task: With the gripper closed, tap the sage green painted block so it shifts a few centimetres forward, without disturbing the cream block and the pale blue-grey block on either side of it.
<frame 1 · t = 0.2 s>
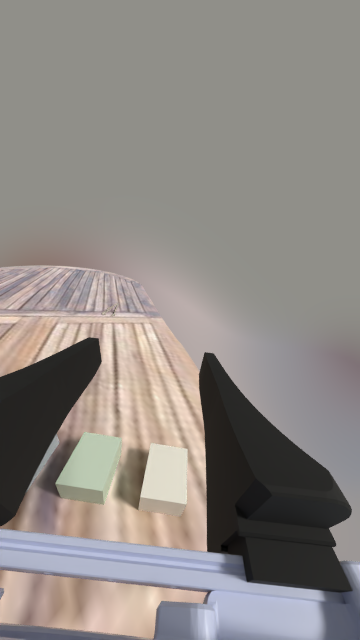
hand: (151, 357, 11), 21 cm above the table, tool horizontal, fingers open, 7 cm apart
block bluegrey: (25, 462, 20), on the table
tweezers: (114, 308, 66), on the table
block cream: (162, 484, 20), on the table
block sage: (94, 473, 20), on the table
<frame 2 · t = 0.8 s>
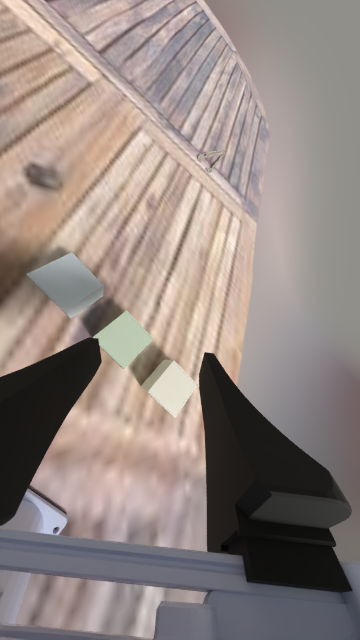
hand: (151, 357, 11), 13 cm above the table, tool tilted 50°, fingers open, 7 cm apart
block bluegrey: (73, 292, 21), on the table
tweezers: (215, 159, 43), on the table
block cream: (163, 383, 24), on the table
block sage: (121, 341, 22), on the table
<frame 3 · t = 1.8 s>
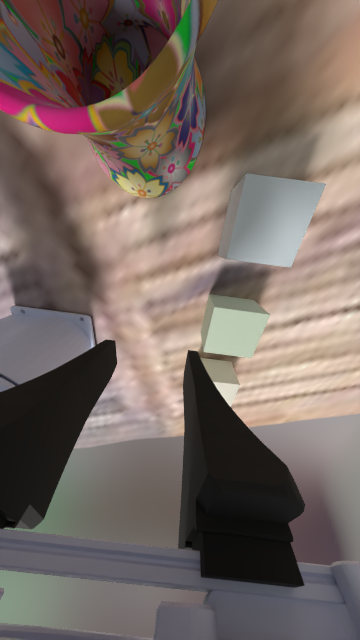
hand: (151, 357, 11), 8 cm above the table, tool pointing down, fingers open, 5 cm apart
block bluegrey: (250, 229, 14), on the table
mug: (130, 135, 12), on the table
block cream: (209, 372, 22), on the table
block sage: (225, 316, 18), on the table
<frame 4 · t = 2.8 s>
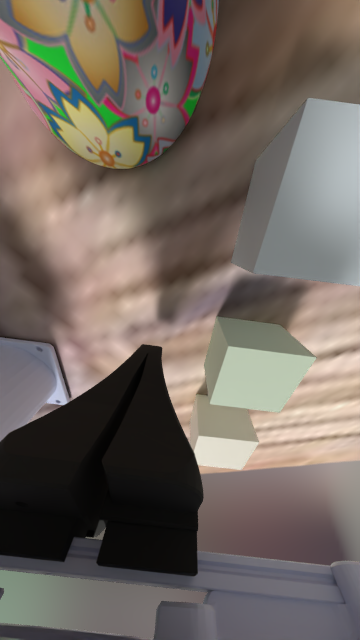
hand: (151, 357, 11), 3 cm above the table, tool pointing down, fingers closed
block bluegrey: (282, 223, 9), on the table
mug: (85, 56, 7), on the table
block cream: (214, 410, 17), on the table
block sage: (238, 345, 13), on the table
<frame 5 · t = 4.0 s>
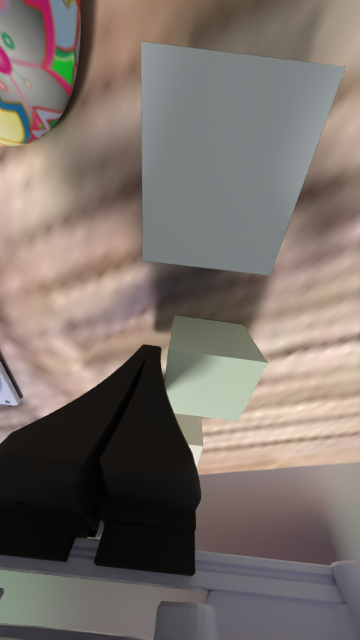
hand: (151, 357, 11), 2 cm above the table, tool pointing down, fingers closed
block bluegrey: (207, 209, 8), on the table
block cream: (172, 411, 17), on the table
block sage: (202, 347, 12), on the table, touching gripper
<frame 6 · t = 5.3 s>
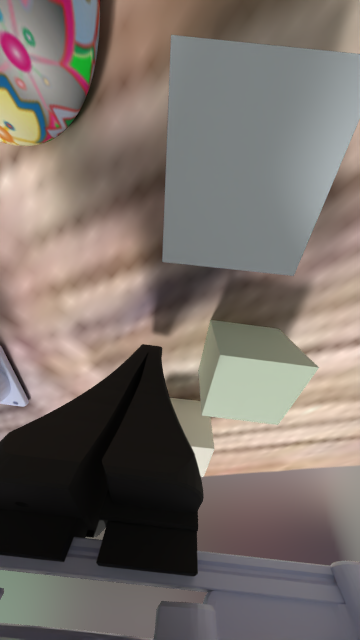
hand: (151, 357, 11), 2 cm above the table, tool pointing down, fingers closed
block bluegrey: (221, 208, 8), on the table
block cream: (180, 413, 16), on the table
block sage: (234, 350, 12), on the table
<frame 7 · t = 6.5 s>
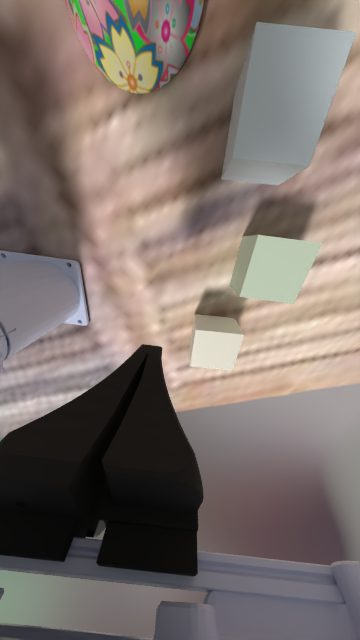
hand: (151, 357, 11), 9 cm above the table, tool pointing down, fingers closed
block bluegrey: (258, 142, 12), on the table
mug: (118, 11, 10), on the table
block cream: (210, 332, 21), on the table
block sage: (258, 265, 17), on the table
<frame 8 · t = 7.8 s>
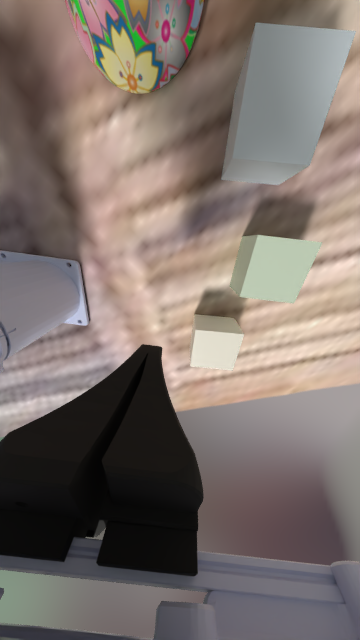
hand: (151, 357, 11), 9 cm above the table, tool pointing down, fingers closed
block bluegrey: (258, 142, 12), on the table
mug: (118, 11, 10), on the table
block cream: (210, 332, 21), on the table
block sage: (258, 265, 17), on the table
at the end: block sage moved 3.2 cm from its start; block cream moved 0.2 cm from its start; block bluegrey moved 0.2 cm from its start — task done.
